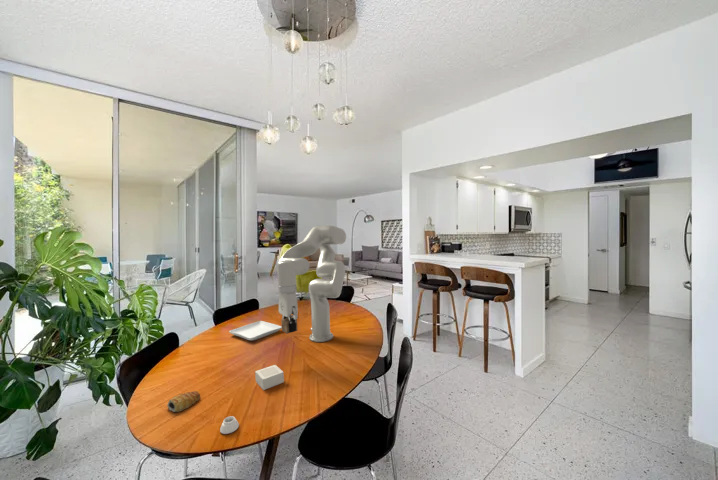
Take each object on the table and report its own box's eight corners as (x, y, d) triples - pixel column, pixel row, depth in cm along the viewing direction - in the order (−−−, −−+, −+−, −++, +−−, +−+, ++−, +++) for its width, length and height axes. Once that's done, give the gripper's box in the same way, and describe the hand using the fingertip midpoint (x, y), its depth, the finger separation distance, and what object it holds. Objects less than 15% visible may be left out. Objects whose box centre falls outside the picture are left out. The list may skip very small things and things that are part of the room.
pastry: (193, 394, 103) (193, 384, 103) (204, 400, 100) (204, 389, 100) (165, 409, 95) (164, 398, 95) (176, 415, 92) (175, 404, 91)
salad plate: (260, 325, 176) (260, 319, 176) (283, 331, 164) (283, 326, 164) (228, 336, 159) (227, 330, 159) (250, 344, 147) (250, 338, 146)
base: (255, 381, 110) (255, 371, 110) (275, 374, 115) (275, 364, 115) (263, 390, 104) (262, 379, 104) (283, 382, 109) (283, 371, 109)
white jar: (216, 434, 83) (232, 436, 82) (215, 424, 82) (231, 426, 82) (227, 422, 88) (242, 424, 87) (226, 413, 87) (241, 414, 86)
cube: (281, 330, 125) (281, 319, 125) (292, 327, 128) (291, 316, 128) (286, 333, 121) (286, 322, 121) (297, 330, 124) (296, 319, 124)
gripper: (271, 287, 128) (273, 326, 129) (288, 293, 115) (290, 338, 116) (287, 284, 132) (289, 322, 134) (304, 290, 119) (306, 333, 120)
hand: (289, 329), depth 125 cm, fingers closed on cube, 5 cm apart
